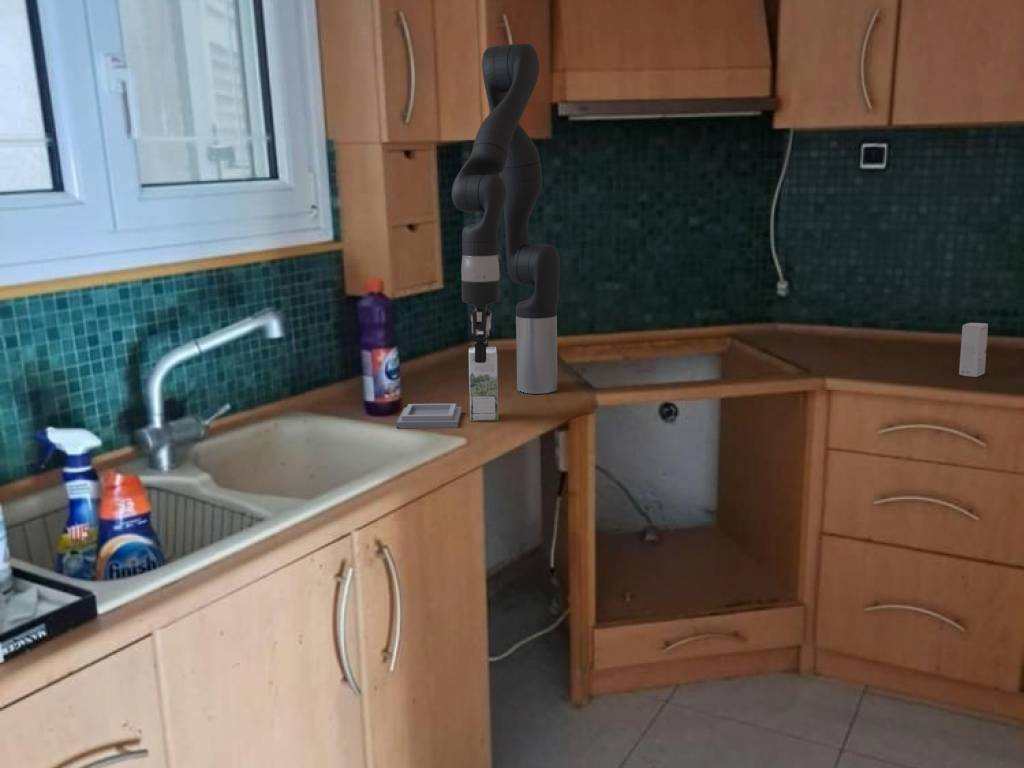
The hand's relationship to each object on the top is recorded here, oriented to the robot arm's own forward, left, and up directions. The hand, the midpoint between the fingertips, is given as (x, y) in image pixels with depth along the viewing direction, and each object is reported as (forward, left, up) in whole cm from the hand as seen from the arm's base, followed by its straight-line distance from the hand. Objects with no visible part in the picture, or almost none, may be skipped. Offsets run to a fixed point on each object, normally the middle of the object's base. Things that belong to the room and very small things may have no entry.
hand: (481, 358), depth 188 cm
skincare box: (-36, +115, -13) cm, 121 cm away
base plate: (+1, -11, -12) cm, 16 cm away
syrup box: (0, 0, -13) cm, 13 cm away
